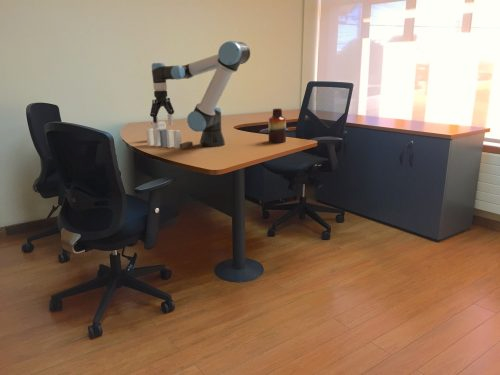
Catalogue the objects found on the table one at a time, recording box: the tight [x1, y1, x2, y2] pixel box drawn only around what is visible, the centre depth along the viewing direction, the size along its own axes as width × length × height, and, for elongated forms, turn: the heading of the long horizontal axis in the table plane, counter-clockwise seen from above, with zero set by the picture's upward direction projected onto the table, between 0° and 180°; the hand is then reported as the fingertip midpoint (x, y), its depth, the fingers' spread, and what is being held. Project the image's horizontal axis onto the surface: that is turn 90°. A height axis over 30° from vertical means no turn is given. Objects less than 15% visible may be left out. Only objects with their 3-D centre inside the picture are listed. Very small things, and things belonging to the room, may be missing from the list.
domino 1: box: [145, 127, 154, 147], centre depth 260 cm, size 2×5×10 cm, turn 154°
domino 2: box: [153, 129, 161, 147], centre depth 258 cm, size 2×5×10 cm, turn 154°
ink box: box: [150, 121, 167, 130], centre depth 274 cm, size 9×5×12 cm, turn 141°
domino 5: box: [173, 129, 182, 149], centre depth 251 cm, size 2×5×10 cm, turn 154°
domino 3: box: [160, 128, 168, 148], centre depth 255 cm, size 2×5×10 cm, turn 154°
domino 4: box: [166, 129, 175, 149], centre depth 253 cm, size 2×5×10 cm, turn 154°
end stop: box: [179, 141, 194, 150], centre depth 250 cm, size 3×9×3 cm, turn 154°
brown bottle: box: [268, 108, 287, 144], centre depth 263 cm, size 11×11×20 cm
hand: (163, 126), depth 253 cm, fingers open, 13 cm apart
